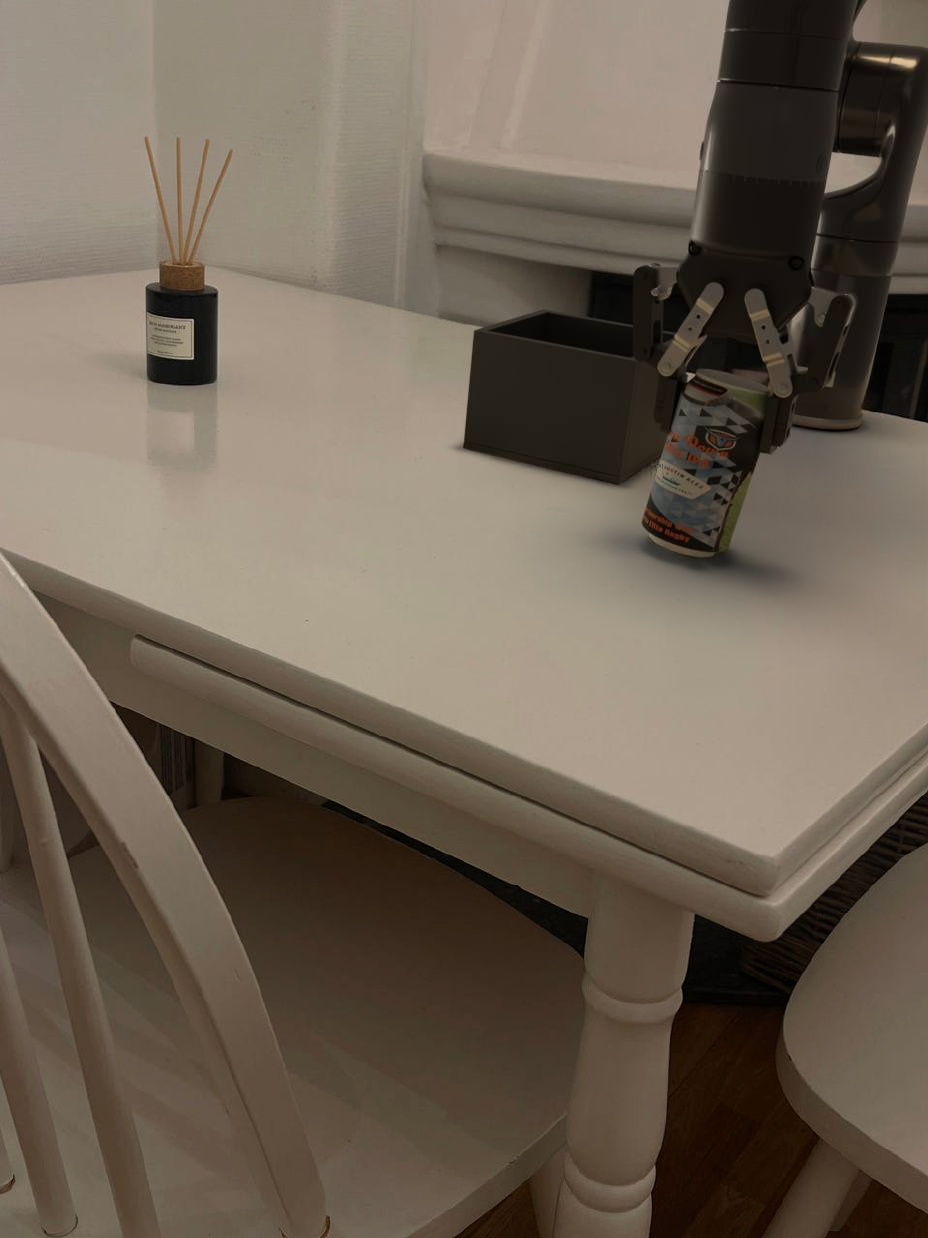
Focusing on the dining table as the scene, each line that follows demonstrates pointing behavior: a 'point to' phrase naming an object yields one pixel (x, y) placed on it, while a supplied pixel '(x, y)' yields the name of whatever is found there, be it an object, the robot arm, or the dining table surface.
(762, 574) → the dining table surface
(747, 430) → the beverage can
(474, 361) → the waste bin
